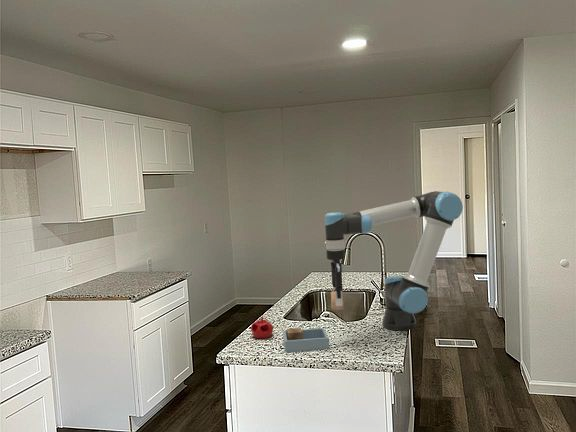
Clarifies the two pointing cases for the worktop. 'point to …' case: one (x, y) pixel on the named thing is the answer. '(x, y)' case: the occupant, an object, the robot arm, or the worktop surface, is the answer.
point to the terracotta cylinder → (333, 302)
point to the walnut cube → (294, 334)
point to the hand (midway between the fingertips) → (338, 303)
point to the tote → (307, 341)
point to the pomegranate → (262, 328)
